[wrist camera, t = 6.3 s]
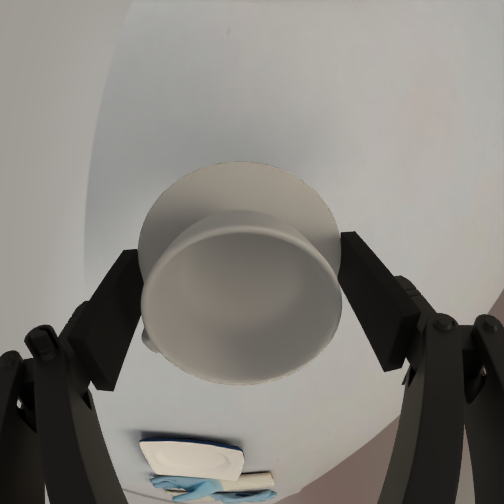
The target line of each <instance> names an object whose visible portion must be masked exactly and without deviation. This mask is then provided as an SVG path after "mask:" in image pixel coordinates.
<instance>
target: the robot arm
mask: <svg viewBox="0 0 504 504" xmlns="http://www.w3.org/2000/svg"><path fill="white" fill-rule="evenodd" d="M340 241H341V262H340V268H339V272H338V276H337V280H338V282H339V284H340V286H341V288H342V290H343V292H344V294H345V295H346V297H347V299H348V301H349V303H350V305H351V307H352V309H353V311H354V312H355V314H356V316H357V318H358V320H359V322H360V324H361V326H362V328H363V330H364V332H365V334H366V336H367V338H368V340H369V342H370V344H371V346H372V348H373V350H374V352H375V354H376V356H377V358H378V360H379V362H380V364H381V367H382V369H383V371H384V372H387V371H391V370H395V369H399V368H402V366H403V363H404V360H405V358H407V360H408V362H409V363H410V366H409V368H408V371H407V373H406V375H405V378H404V380H403V382H402V385H404V384H405V382H406V384H405V391H404V397H403V403H402V409H401V415H400V420H399V425H398V430H397V434H396V439H395V443H394V447H393V452H392V456H391V460H390V463H389V467H388V471H387V474H386V477H385V481H384V484H383V487H382V491H381V494H380V497H379V500H378V503H377V504H455V500H456V495H457V489H458V482H459V476H460V468H461V460H462V449H463V434H464V433H463V432H464V424H465V429H466V434H467V439H468V445H469V451H470V458H471V464H472V472H473V481H474V492H475V504H504V327H503V325H502V324H501V322H500V321H499V320H497V319H496V318H495V317H494V316H491V315H486V314H483V315H479V316H478V317H477V318H476V320H475V322H474V325H458V323H457V322H456V320H455V319H454V318H452V317H451V316H449V315H446V314H443V313H436V311H435V310H434V309H433V308H432V306H431V305H430V304H429V303H428V302H427V300H426V299H425V298H424V297H423V295H421V293H420V292H419V291H418V290H416V287H415V286H414V285H413V284H412V283H411V281H409V280H408V279H406V278H404V277H403V276H393V275H392V274H391V272H390V271H389V270H388V269H387V268H386V266H385V265H384V264H383V263H382V262H381V261H380V259H379V258H378V257H377V256H376V255H375V254H374V252H373V251H372V250H371V249H370V248H369V247H368V246H367V244H366V243H365V242H364V241H363V240H362V239H361V238H360V236H359V235H358V234H357V233H356V232H355V231H354V232H341V238H340ZM143 286H144V281H143V278H142V274H141V271H140V267H139V261H138V251H137V249H131V250H123V252H122V253H121V254H120V256H119V257H118V259H117V260H116V262H115V263H114V264H113V266H112V267H111V269H110V270H109V272H108V273H107V275H106V276H105V277H104V279H103V280H102V282H101V283H100V285H99V286H98V288H97V289H96V291H95V293H94V294H93V296H92V297H91V299H90V300H89V301H84V302H83V303H82V304H81V305H80V306H78V307H77V308H76V310H75V311H74V313H73V314H72V317H71V318H70V319H69V321H68V323H67V324H66V325H65V327H64V329H63V330H62V332H61V333H60V335H59V337H57V335H56V333H55V331H54V329H53V328H52V326H50V325H41V326H38V327H36V328H34V329H32V330H31V331H30V332H29V333H28V334H27V335H26V337H25V340H24V342H25V343H26V345H27V347H28V349H29V350H30V352H31V354H32V355H33V357H34V358H29V359H24V360H23V359H22V357H21V356H20V354H19V353H18V352H17V351H13V350H12V351H8V352H5V353H4V354H3V355H2V356H1V357H0V504H45V485H46V489H47V494H48V498H49V502H50V504H128V502H127V499H126V497H125V495H124V493H123V490H122V488H121V485H120V483H119V480H118V478H117V475H116V473H115V470H114V467H113V464H112V462H111V459H110V456H109V453H108V450H107V447H106V444H105V441H104V438H103V435H102V431H101V428H100V424H99V421H98V417H97V413H96V410H95V406H94V402H93V398H92V394H91V392H90V390H89V389H88V386H89V384H90V381H92V383H93V384H94V386H95V388H96V389H97V390H104V391H114V388H115V385H116V382H117V379H118V376H119V373H120V371H121V368H122V365H123V362H124V359H125V356H126V354H127V351H128V348H129V345H130V343H131V340H132V337H133V335H134V332H135V329H136V327H137V324H138V322H139V319H140V316H141V296H142V290H143ZM484 367H485V369H486V374H485V373H484V370H483V369H484ZM17 400H19V401H20V402H21V403H22V404H21V408H18V406H17Z"/></svg>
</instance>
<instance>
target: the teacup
mask: <svg viewBox="0 0 504 504" xmlns="http://www.w3.org/2000/svg"><path fill="white" fill-rule="evenodd" d="M138 261H139V267H140V271H141V274H142V278H143V281H144V286H143V290H142V296H141V314H142V320H143V323H144V327H145V328H144V330H143V333H142V341H143V343H144V344H145V345H146V346H147V347H148V348H149V349H150V350H151V351H153V352H157V353H159V352H160V353H161V354H162V355H163V356H164V357H165V358H166V359H167V360H169V361H170V362H171V363H172V364H174V365H175V366H177V367H178V368H180V369H181V370H183V371H185V372H187V373H189V374H191V375H193V376H195V377H198V378H201V379H204V380H207V381H211V382H215V383H220V384H228V385H253V384H260V383H266V382H270V381H274V380H277V379H280V378H283V377H285V376H288V375H290V374H292V373H294V372H296V371H298V370H300V369H301V368H303V367H305V366H306V365H307V364H309V363H310V362H311V361H313V360H314V359H315V358H316V357H317V356H318V355H319V354H320V353H321V352H322V351H323V350H324V349H325V348H326V346H327V345H328V344H329V342H330V341H331V339H332V338H333V336H334V334H335V332H336V330H337V327H338V325H339V321H340V317H341V311H342V296H341V290H340V286H339V283H338V280H337V276H338V272H339V268H340V262H341V241H340V235H339V231H338V227H337V224H336V222H335V220H334V217H333V215H332V213H331V211H330V209H329V208H328V206H327V205H326V203H325V202H324V201H323V199H322V198H321V197H320V196H319V195H318V194H317V193H316V192H315V191H314V190H313V189H312V188H311V187H310V186H309V185H308V184H306V183H305V182H304V181H302V180H301V179H299V178H298V177H296V176H294V175H292V174H290V173H289V172H286V171H284V170H282V169H279V168H276V167H273V166H270V165H266V164H262V163H255V162H243V161H236V162H225V163H219V164H214V165H210V166H207V167H204V168H201V169H198V170H196V171H193V172H191V173H189V174H187V175H186V176H184V177H182V178H181V179H179V180H178V181H176V182H175V183H173V184H172V185H171V186H170V187H169V188H168V189H167V190H165V191H164V192H163V193H162V194H161V196H160V197H159V198H158V199H157V200H156V202H155V203H154V204H153V206H152V207H151V209H150V211H149V212H148V214H147V216H146V218H145V221H144V223H143V226H142V229H141V232H140V237H139V244H138Z"/></svg>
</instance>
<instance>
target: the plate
mask: <svg viewBox="0 0 504 504" xmlns="http://www.w3.org/2000/svg"><path fill="white" fill-rule="evenodd" d="M139 443H140V446H141V449H142V452H143V454H144V456H145V458H146V460H147V461H148V463H149V464H150V466H151V467H152V469H153V470H154V472H155V473H156V474H159V475H172V476H186V477H198V478H211V479H220V480H231V481H237V480H238V478H239V476H240V474H241V472H242V470H243V466H244V454H243V451H242V449H240V448H239V447H237V446H231V445H225V444H219V443H214V442H207V441H197V440H191V439H174V438H145V439H142V440H140V441H139Z"/></svg>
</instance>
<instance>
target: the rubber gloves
mask: <svg viewBox="0 0 504 504" xmlns="http://www.w3.org/2000/svg"><path fill="white" fill-rule="evenodd" d="M150 481H151V482H152V483H153V486H154V487H156V488H163V489H171V488H178V489H180V488H183V489H184V490H186V491H187V492H179V491H165V493H170V494H171V495H173V496H174V497H173V499H172V500H173V501H175V502H178V501H216V500H221V501H222V502H224V503H241V502H260V501H265V500H268V499H271V498H274V497H275V496H276V495H277V493H276V492H271V491H270V490H266V491H264V492H261V493H259V494H253V493H215V492H218V491H228V490H237V489H250V488H260V487H270V486H275V483H274V479H273V478H272V474H271V472H270V473H257V474H244V475H240V476H239V478H238V480H237V481H231V480H220V479H211V478H198V477H186V476H158V477H155V478H152V479H150Z"/></svg>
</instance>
